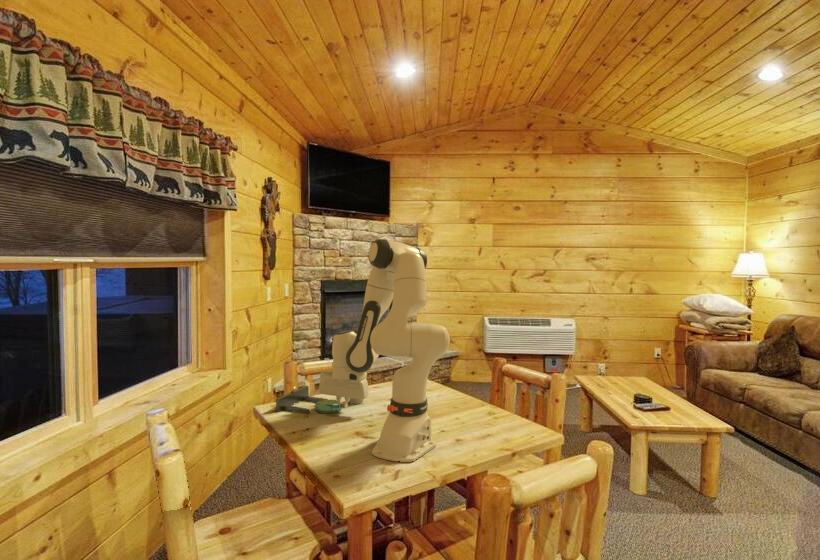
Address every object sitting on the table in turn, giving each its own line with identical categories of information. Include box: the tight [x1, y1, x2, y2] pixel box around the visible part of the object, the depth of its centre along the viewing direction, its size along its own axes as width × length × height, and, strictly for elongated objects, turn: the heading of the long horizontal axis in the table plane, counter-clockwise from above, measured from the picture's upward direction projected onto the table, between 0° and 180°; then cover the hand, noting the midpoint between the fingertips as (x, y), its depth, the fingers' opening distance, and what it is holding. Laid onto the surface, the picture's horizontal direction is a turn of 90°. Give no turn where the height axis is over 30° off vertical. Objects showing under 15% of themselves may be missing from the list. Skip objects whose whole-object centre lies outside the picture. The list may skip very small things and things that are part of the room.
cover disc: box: [315, 399, 342, 415], centre depth 178 cm, size 10×10×2 cm
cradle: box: [275, 385, 329, 415], centre depth 182 cm, size 20×13×7 cm, turn 159°
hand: (343, 407), depth 176 cm, fingers closed
